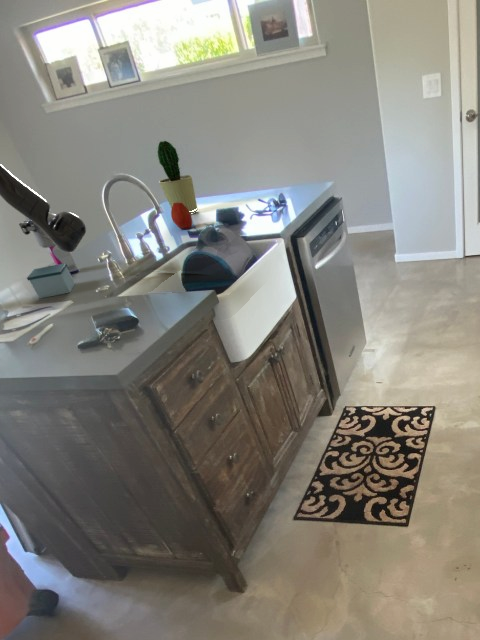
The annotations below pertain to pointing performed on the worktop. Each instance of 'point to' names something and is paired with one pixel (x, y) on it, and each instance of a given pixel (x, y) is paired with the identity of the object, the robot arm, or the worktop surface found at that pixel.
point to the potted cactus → (175, 178)
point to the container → (51, 280)
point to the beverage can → (42, 239)
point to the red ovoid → (181, 216)
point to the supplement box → (63, 258)
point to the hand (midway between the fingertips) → (37, 221)
